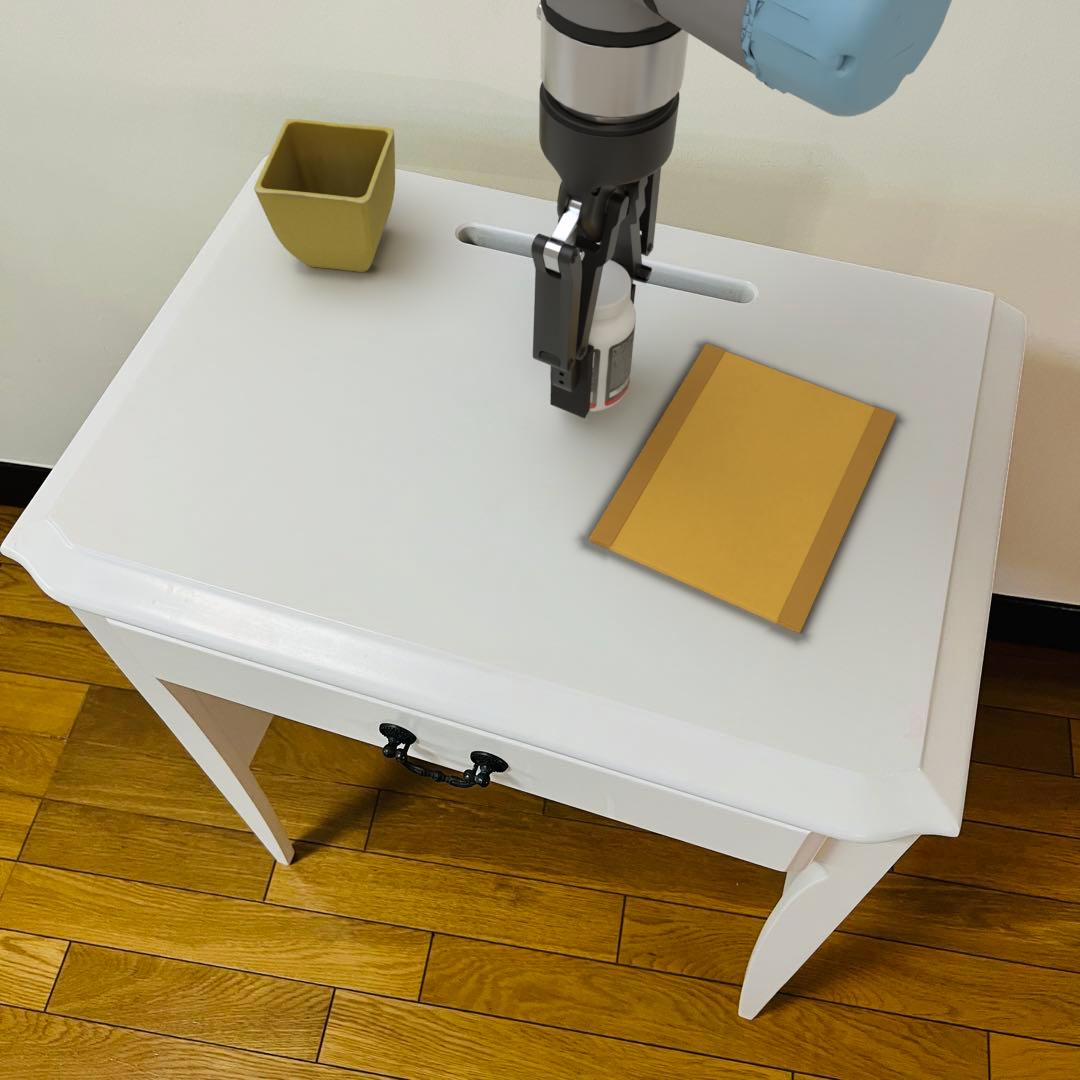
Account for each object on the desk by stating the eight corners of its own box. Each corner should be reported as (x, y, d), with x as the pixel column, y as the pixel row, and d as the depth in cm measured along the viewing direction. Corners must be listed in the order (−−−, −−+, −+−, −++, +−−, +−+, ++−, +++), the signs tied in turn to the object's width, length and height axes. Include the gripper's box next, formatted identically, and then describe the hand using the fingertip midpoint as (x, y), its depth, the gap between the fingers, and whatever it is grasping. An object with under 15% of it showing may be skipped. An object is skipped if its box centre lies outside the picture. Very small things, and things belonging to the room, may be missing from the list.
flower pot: (276, 281, 84) (250, 188, 76) (306, 209, 88) (285, 115, 81) (383, 293, 83) (368, 201, 76) (408, 220, 88) (395, 127, 80)
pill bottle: (612, 347, 78) (622, 243, 69) (640, 403, 75) (654, 301, 66) (539, 365, 76) (540, 261, 68) (564, 422, 74) (568, 321, 65)
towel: (894, 419, 76) (897, 414, 76) (799, 634, 67) (801, 629, 66) (705, 348, 80) (706, 342, 80) (589, 541, 70) (589, 536, 70)
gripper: (622, -21, 61) (600, 278, 80) (459, 161, 52) (479, 449, 71) (742, 14, 59) (690, 312, 78) (595, 209, 50) (578, 491, 69)
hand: (590, 376), depth 75 cm, fingers closed on pill bottle, 6 cm apart
